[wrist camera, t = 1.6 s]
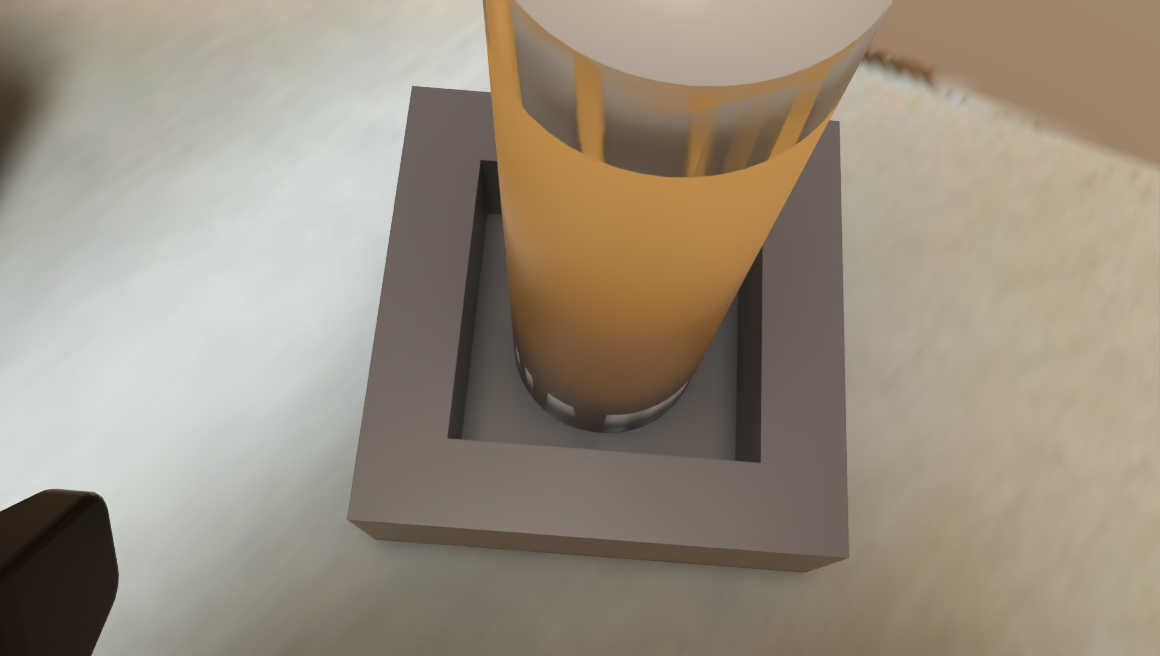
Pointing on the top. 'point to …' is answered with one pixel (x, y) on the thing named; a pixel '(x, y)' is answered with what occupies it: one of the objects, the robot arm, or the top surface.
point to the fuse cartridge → (649, 177)
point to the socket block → (588, 459)
